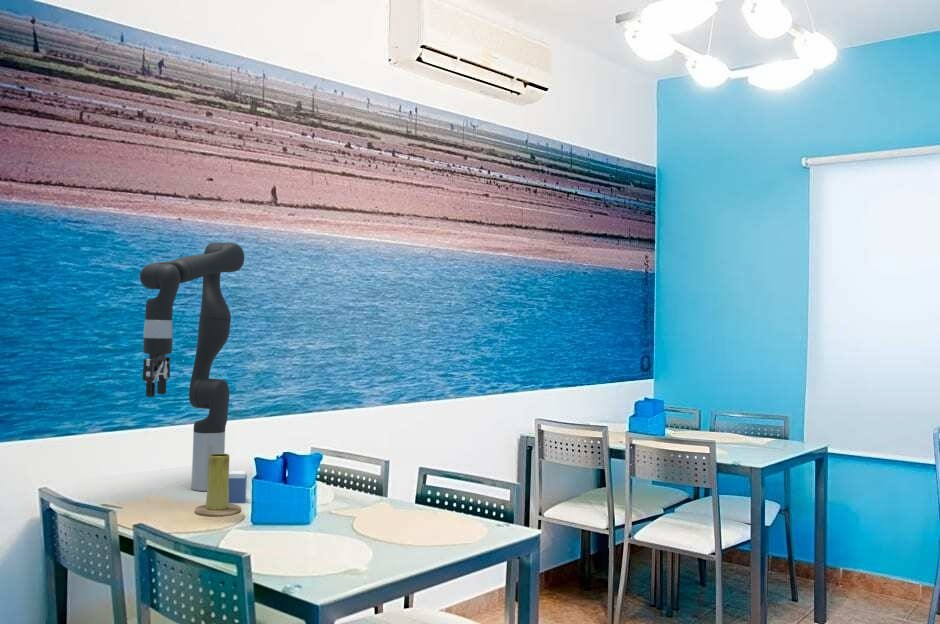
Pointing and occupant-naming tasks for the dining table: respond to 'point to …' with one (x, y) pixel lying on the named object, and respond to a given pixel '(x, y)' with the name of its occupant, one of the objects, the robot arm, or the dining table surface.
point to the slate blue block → (237, 486)
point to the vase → (218, 482)
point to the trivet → (218, 511)
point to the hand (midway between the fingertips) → (156, 395)
